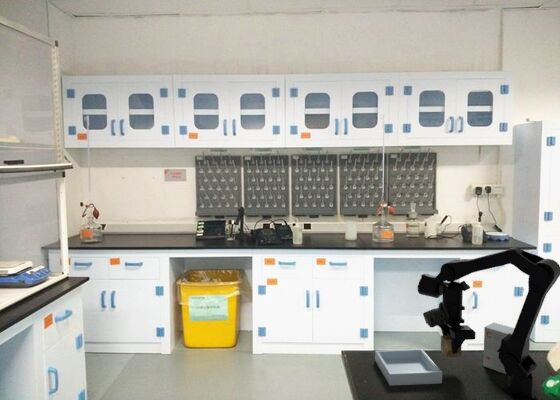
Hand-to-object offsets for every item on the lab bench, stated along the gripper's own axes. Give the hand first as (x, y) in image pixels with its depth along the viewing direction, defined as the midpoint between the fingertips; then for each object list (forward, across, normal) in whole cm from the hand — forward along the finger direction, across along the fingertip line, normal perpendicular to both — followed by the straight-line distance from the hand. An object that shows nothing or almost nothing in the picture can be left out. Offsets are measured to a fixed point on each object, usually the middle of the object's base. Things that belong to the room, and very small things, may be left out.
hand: (450, 349), depth 137 cm
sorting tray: (+6, 0, -14) cm, 15 cm away
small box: (+7, 0, +16) cm, 17 cm away
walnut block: (+1, 0, 0) cm, 1 cm away
